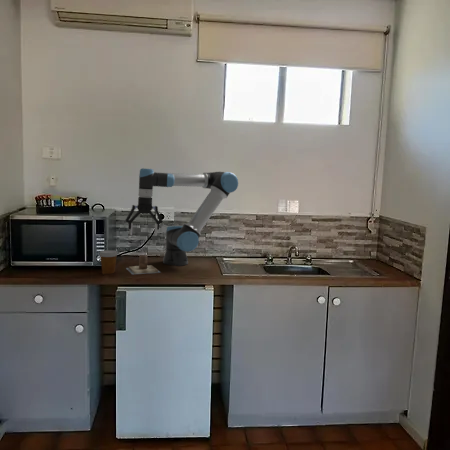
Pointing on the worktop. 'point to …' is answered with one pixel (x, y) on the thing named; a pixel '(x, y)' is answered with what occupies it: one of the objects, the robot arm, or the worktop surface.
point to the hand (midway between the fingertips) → (143, 235)
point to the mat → (140, 273)
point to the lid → (143, 266)
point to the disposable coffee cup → (108, 261)
